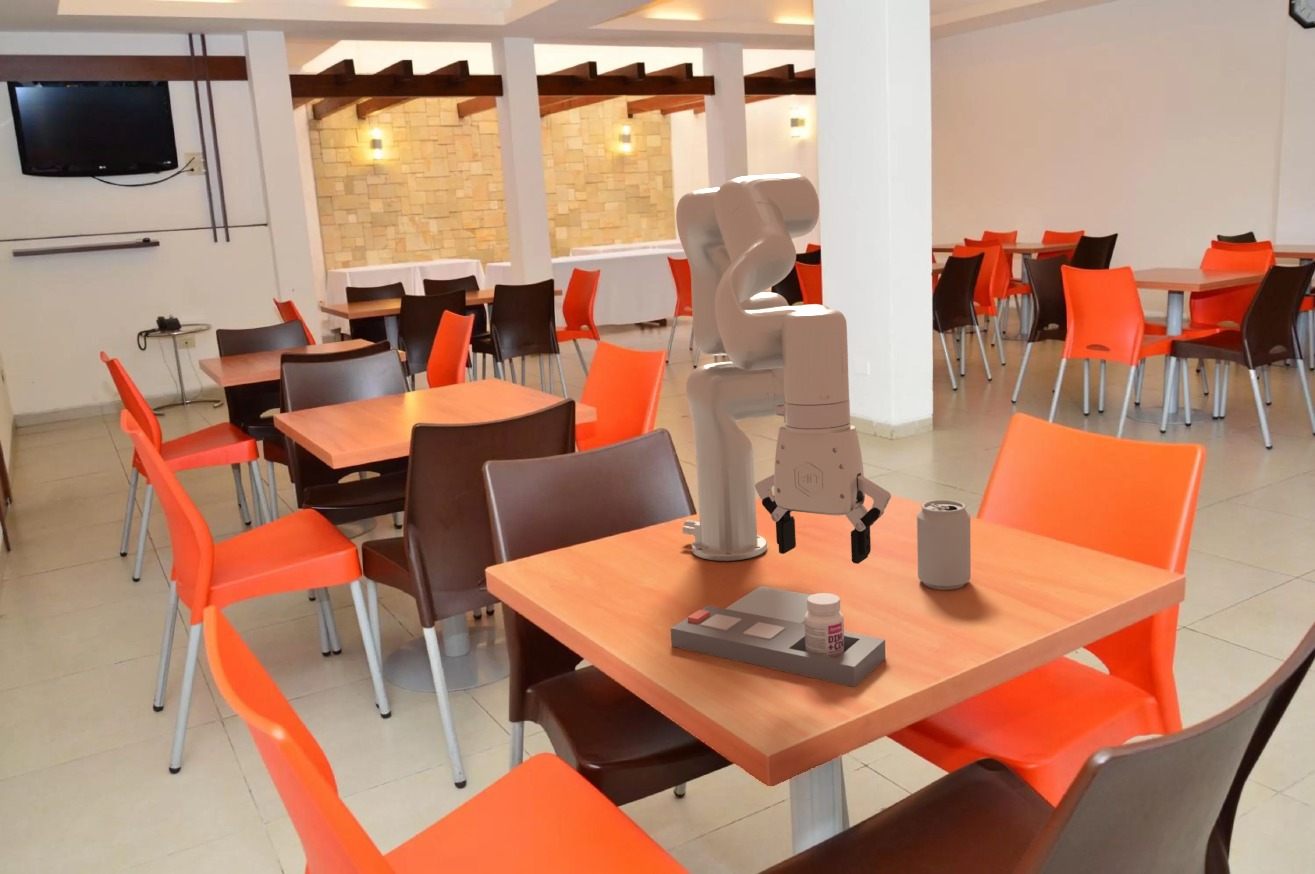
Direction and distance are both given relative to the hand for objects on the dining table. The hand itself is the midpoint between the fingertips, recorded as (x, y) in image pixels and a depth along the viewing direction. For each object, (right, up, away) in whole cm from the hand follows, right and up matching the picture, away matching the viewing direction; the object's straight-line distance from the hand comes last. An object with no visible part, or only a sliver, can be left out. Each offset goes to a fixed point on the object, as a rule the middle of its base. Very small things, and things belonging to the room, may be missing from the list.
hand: (823, 555), depth 125 cm
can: (+22, -7, +28) cm, 36 cm away
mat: (-3, -10, +22) cm, 24 cm away
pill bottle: (+1, -14, +3) cm, 14 cm away
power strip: (-5, -13, +7) cm, 16 cm away
